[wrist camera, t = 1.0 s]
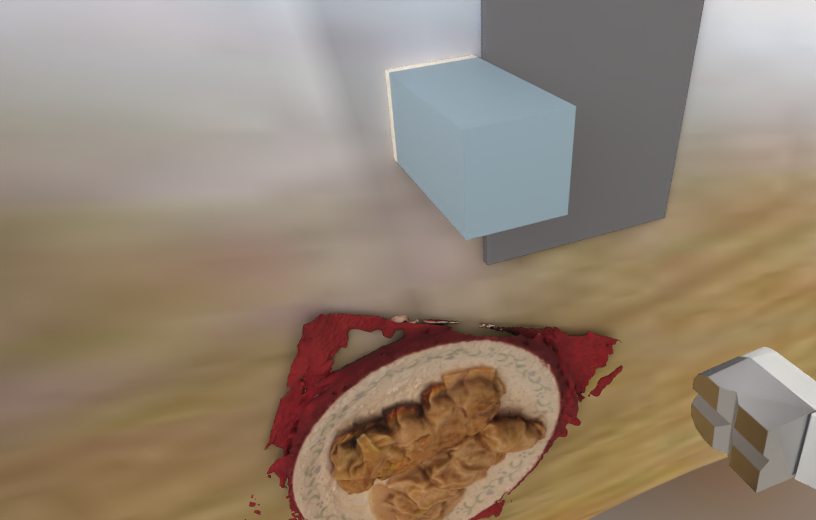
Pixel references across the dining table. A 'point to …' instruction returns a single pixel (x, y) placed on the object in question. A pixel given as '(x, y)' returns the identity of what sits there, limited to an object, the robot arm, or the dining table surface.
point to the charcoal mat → (600, 104)
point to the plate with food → (425, 417)
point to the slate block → (482, 143)
